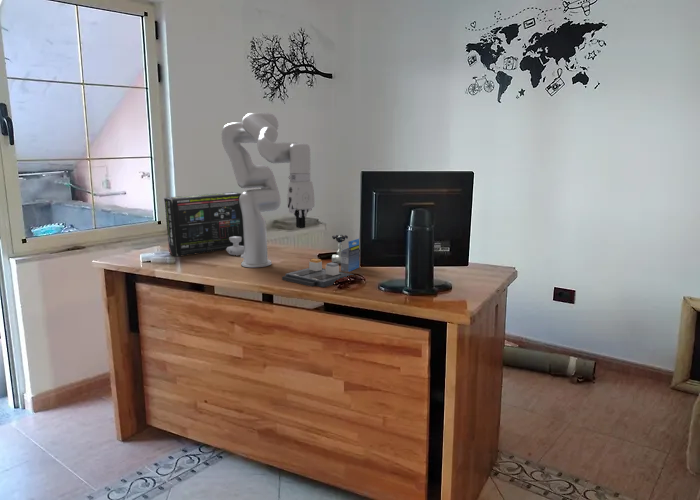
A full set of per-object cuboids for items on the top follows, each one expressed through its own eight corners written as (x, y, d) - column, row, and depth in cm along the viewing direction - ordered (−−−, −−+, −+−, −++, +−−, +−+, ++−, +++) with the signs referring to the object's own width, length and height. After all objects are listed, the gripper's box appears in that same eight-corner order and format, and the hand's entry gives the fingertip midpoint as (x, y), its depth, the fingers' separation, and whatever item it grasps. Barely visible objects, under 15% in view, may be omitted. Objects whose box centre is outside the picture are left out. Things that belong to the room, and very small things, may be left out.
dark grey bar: (282, 279, 210) (282, 276, 210) (284, 279, 211) (284, 275, 211) (312, 286, 200) (312, 283, 199) (315, 285, 201) (314, 282, 200)
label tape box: (351, 266, 230) (351, 237, 228) (360, 267, 228) (360, 238, 226) (340, 271, 223) (339, 240, 220) (349, 272, 220) (348, 241, 218)
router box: (236, 244, 284) (233, 191, 279) (246, 247, 275) (243, 193, 270) (166, 253, 263) (162, 196, 258) (175, 257, 254) (170, 198, 249)
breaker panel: (285, 278, 211) (285, 273, 211) (311, 272, 221) (311, 266, 221) (323, 287, 198) (323, 281, 198) (349, 279, 208) (349, 274, 208)
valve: (346, 266, 232) (346, 237, 229) (331, 265, 233) (330, 237, 231) (349, 262, 238) (349, 234, 236) (334, 262, 239) (334, 234, 237)
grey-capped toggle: (325, 274, 209) (325, 263, 208) (331, 272, 211) (331, 262, 210) (333, 275, 206) (333, 265, 205) (339, 274, 208) (339, 263, 207)
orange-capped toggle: (309, 269, 216) (309, 259, 215) (314, 268, 218) (314, 258, 217) (316, 271, 213) (316, 260, 213) (322, 269, 216) (321, 259, 215)
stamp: (234, 257, 252) (233, 238, 250) (224, 255, 256) (223, 237, 254) (248, 253, 259) (247, 236, 258) (238, 252, 263) (237, 234, 261)
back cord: (317, 271, 223) (317, 268, 222) (320, 270, 224) (320, 267, 223) (351, 278, 211) (351, 275, 211) (354, 277, 212) (354, 274, 212)
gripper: (292, 180, 196) (292, 231, 200) (321, 177, 207) (321, 226, 211) (277, 178, 201) (278, 228, 205) (307, 176, 212) (308, 223, 216)
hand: (300, 227), depth 208 cm, fingers closed
